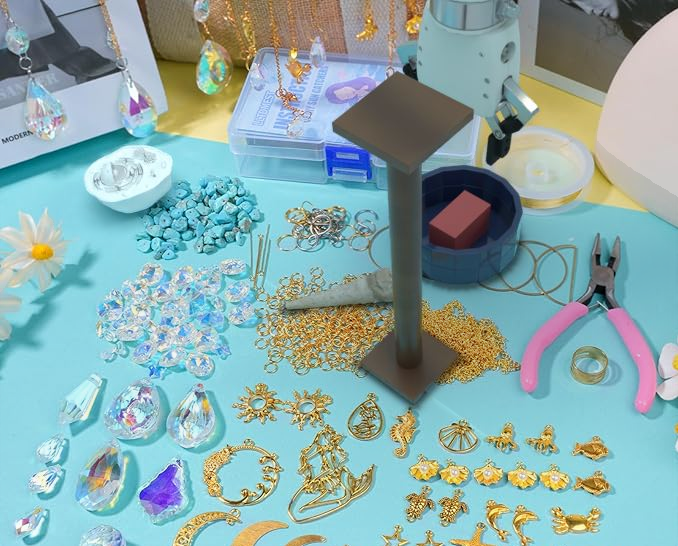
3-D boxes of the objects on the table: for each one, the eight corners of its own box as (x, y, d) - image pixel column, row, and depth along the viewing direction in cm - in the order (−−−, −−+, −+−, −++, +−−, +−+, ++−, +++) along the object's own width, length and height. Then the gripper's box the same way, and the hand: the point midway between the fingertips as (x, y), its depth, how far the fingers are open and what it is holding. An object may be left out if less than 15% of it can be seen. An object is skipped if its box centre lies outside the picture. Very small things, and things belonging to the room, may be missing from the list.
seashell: (417, 302, 100) (416, 286, 96) (290, 328, 100) (283, 313, 96) (410, 272, 102) (408, 254, 98) (285, 298, 102) (278, 281, 98)
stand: (405, 322, 98) (396, 70, 69) (458, 358, 95) (474, 109, 65) (360, 366, 95) (331, 122, 66) (413, 405, 92) (408, 165, 62)
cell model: (186, 213, 111) (173, 177, 106) (98, 234, 111) (80, 198, 105) (177, 163, 117) (164, 126, 112) (93, 182, 116) (76, 145, 111)
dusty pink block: (463, 214, 106) (464, 189, 103) (488, 229, 105) (490, 204, 101) (428, 247, 104) (428, 222, 100) (454, 262, 102) (455, 238, 98)
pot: (449, 182, 111) (450, 148, 106) (540, 233, 104) (546, 200, 99) (377, 247, 105) (374, 215, 100) (469, 306, 99) (471, 274, 94)
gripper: (572, 11, 74) (546, 154, 89) (423, -52, 82) (421, 89, 96) (523, 53, 72) (504, 193, 86) (373, -16, 79) (379, 123, 93)
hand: (460, 138), depth 91 cm, fingers open, 9 cm apart
